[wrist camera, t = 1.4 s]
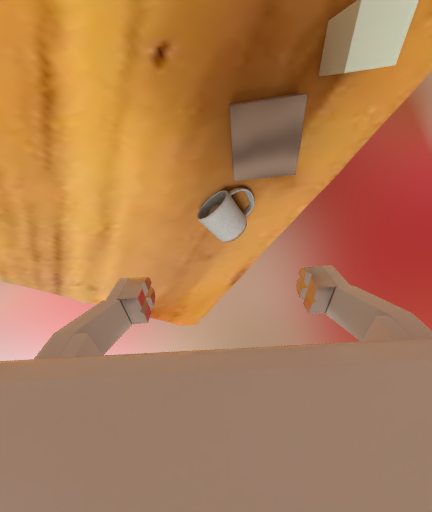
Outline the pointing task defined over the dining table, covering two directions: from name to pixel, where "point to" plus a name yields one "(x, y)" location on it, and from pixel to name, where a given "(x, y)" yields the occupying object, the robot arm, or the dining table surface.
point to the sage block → (366, 36)
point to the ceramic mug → (225, 215)
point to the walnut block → (267, 136)
